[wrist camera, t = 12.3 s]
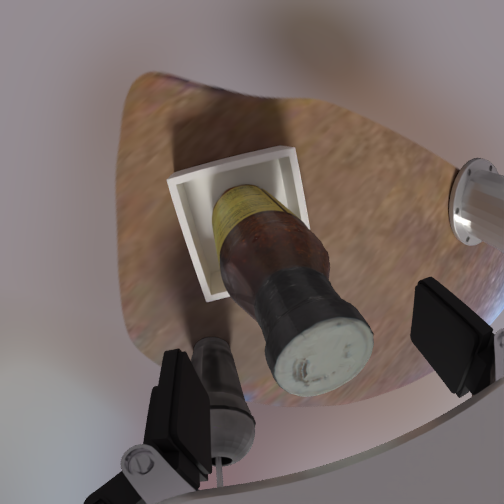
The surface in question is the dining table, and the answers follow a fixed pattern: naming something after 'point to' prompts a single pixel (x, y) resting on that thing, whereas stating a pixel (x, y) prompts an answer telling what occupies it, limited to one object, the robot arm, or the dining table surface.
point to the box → (214, 185)
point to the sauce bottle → (288, 292)
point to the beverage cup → (224, 403)
